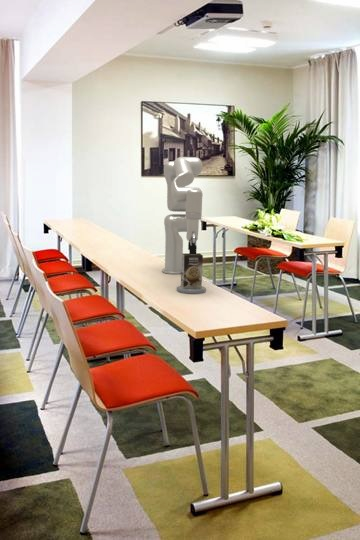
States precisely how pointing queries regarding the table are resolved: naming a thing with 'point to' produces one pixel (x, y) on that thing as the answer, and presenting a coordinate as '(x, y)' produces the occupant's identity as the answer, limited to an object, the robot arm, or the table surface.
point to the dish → (191, 290)
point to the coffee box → (191, 271)
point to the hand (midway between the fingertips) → (192, 251)
